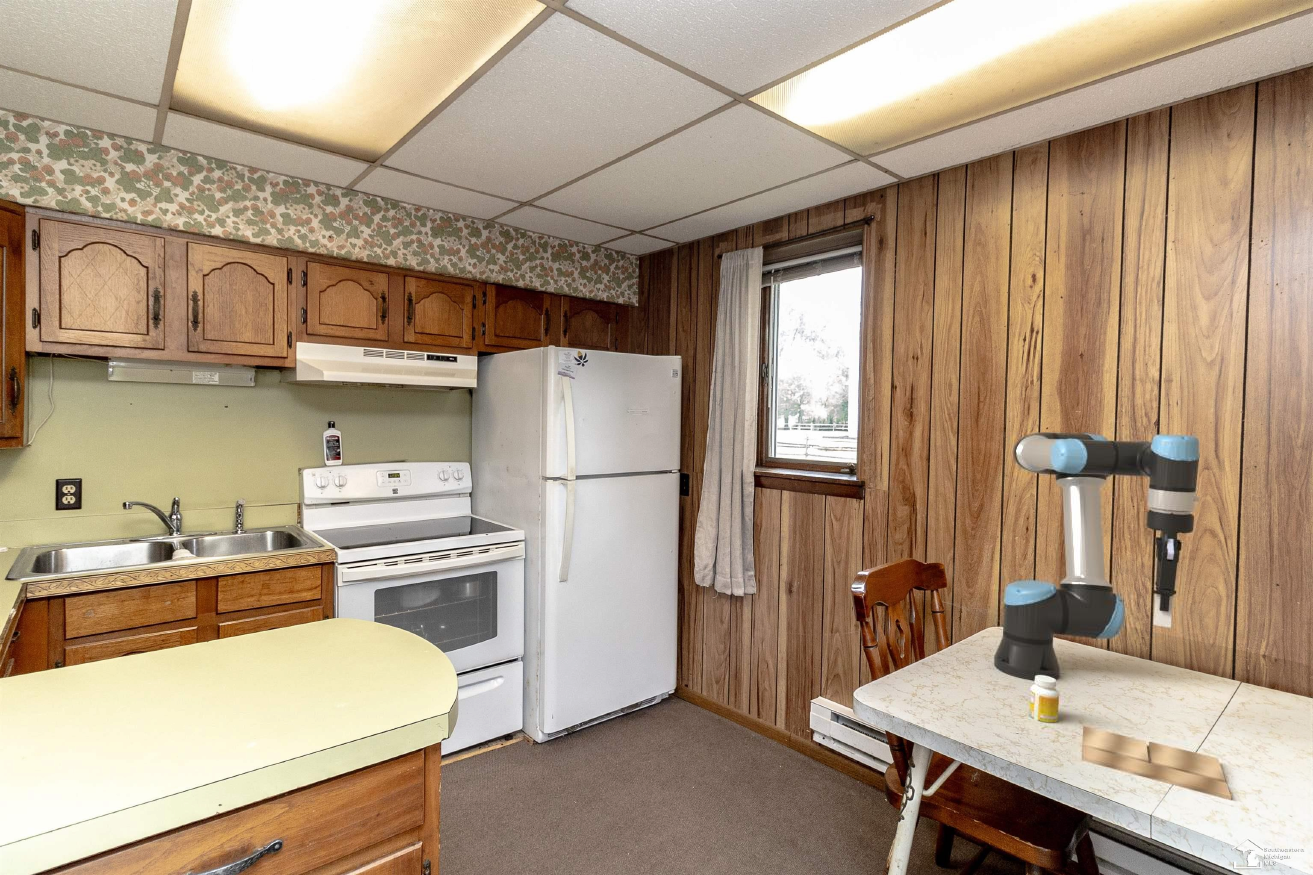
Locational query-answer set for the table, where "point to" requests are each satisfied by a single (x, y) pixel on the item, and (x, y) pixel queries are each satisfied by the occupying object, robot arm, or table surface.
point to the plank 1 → (1115, 744)
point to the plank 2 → (1186, 761)
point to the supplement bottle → (1044, 700)
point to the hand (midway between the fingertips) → (1162, 625)
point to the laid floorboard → (1156, 772)
